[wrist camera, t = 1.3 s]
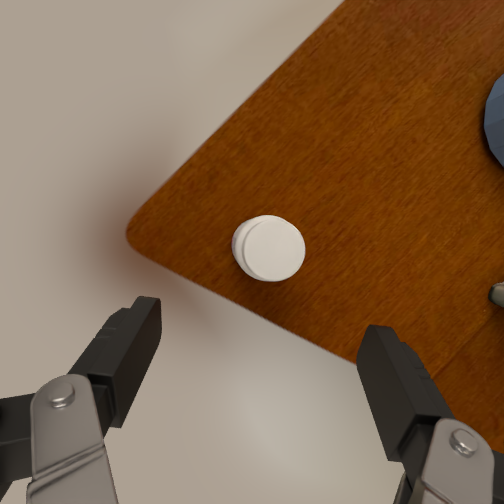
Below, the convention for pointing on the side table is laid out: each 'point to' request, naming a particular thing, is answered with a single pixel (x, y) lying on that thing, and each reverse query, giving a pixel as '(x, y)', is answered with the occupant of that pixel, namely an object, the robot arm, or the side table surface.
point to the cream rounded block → (497, 294)
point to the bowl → (495, 120)
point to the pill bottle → (268, 248)
